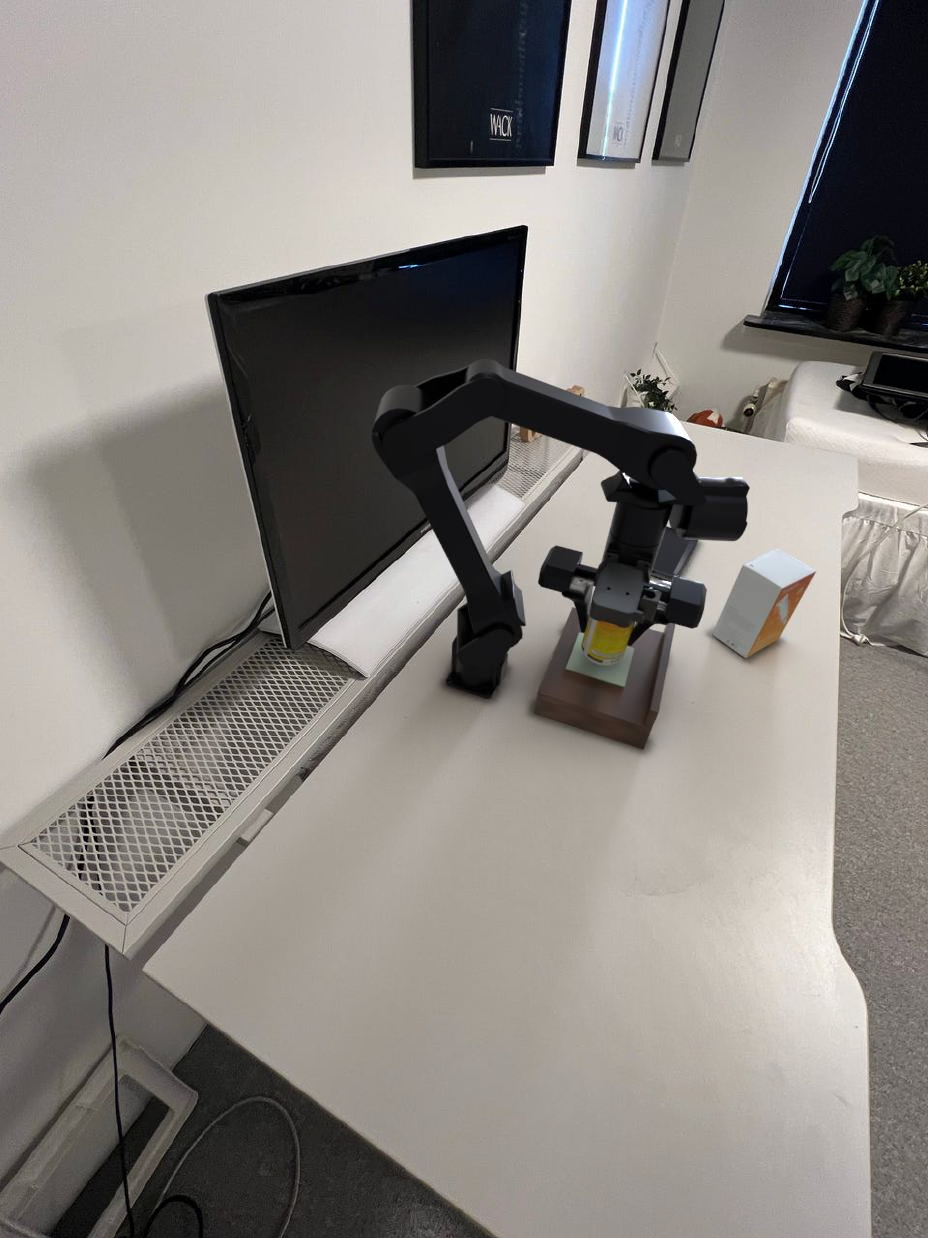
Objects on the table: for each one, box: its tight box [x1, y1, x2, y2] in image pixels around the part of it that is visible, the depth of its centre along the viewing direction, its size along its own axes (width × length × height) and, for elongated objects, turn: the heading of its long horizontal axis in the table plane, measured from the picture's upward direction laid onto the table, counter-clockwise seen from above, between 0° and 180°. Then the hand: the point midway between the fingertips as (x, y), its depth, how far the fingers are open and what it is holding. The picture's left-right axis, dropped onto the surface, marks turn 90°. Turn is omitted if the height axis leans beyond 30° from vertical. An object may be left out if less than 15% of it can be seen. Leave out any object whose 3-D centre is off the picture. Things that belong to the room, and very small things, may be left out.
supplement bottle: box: [581, 615, 636, 666], centre depth 74 cm, size 6×6×10 cm
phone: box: [651, 525, 699, 583], centre depth 104 cm, size 8×1×15 cm
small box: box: [711, 548, 817, 659], centre depth 84 cm, size 8×6×13 cm
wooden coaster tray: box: [533, 606, 676, 750], centre depth 78 cm, size 14×18×7 cm
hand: (605, 637), depth 75 cm, fingers closed on supplement bottle, 5 cm apart
